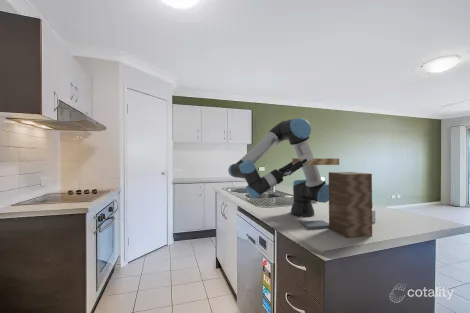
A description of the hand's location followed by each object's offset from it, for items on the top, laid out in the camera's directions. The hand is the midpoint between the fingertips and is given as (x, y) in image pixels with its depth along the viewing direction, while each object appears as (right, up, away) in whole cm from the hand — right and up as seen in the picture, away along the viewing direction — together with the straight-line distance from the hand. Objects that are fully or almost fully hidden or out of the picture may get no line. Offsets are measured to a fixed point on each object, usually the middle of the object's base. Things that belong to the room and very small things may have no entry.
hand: (308, 156), depth 128 cm
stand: (+18, -38, -9) cm, 43 cm away
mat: (+4, -38, +1) cm, 39 cm away
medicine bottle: (+37, -38, +10) cm, 55 cm away
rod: (+4, -4, +1) cm, 6 cm away
